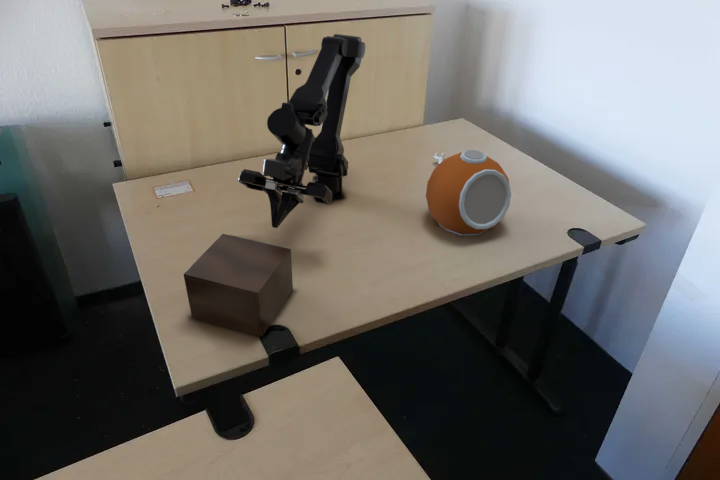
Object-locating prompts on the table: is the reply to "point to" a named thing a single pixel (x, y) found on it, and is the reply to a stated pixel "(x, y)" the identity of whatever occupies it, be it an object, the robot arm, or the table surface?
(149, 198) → the table surface
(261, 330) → the cabinet
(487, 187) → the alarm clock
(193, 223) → the table surface
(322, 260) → the table surface
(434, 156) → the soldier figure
